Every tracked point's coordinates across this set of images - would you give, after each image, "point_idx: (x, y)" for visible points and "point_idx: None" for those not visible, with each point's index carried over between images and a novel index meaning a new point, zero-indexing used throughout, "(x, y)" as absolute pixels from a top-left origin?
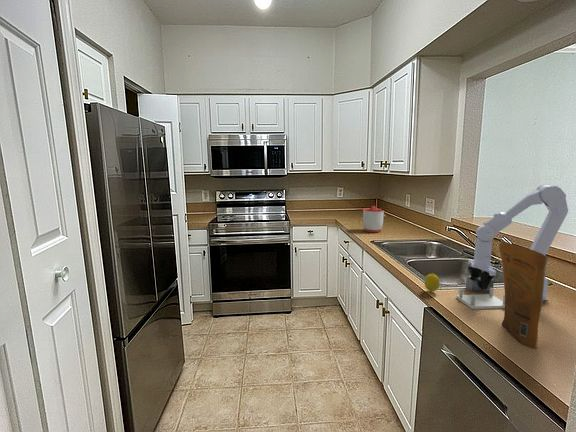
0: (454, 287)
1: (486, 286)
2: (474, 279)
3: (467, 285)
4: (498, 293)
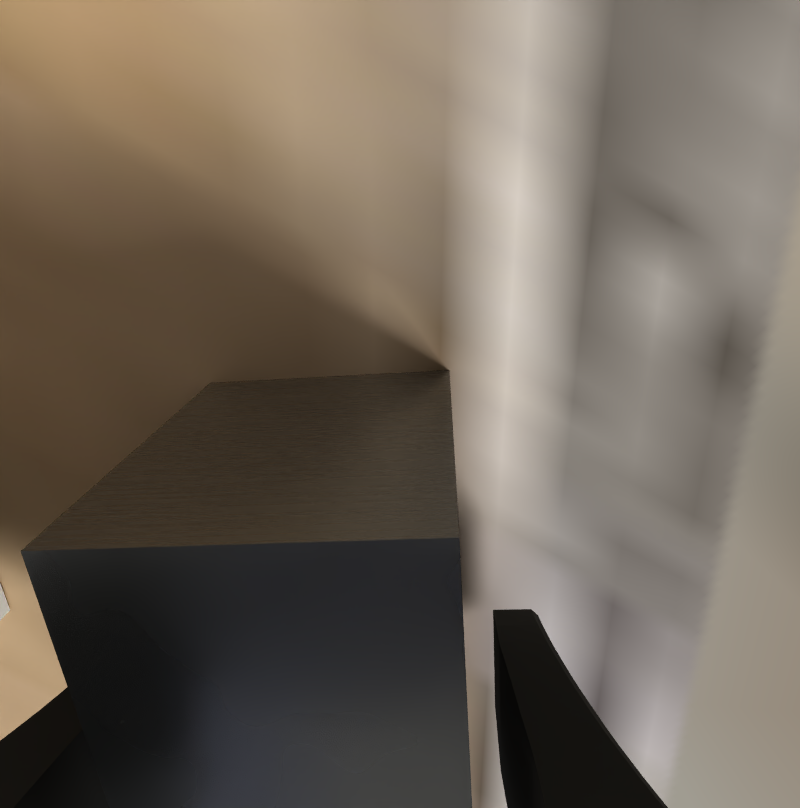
0: (512, 70)
1: None
2: (184, 682)
3: (373, 408)
4: None
